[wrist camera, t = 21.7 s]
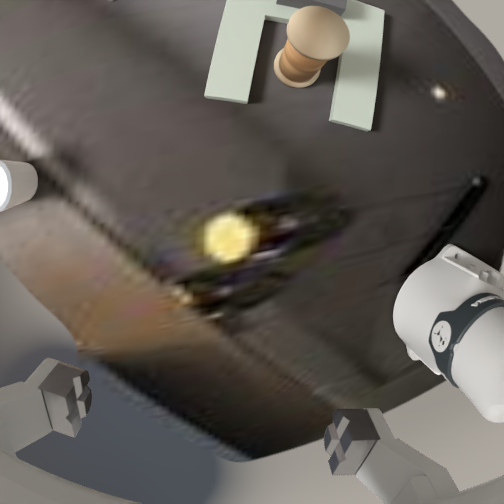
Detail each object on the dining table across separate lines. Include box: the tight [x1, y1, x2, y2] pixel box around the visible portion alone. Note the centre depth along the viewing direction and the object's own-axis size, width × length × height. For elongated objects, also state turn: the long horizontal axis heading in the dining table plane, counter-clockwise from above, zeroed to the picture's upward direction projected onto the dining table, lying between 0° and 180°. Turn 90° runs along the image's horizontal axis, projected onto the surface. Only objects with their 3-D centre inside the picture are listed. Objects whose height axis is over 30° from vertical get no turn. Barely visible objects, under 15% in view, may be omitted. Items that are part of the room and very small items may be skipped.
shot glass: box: [0, 160, 38, 212], centre depth 33 cm, size 7×7×7 cm
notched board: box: [204, 0, 384, 131], centre depth 31 cm, size 20×18×4 cm
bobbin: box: [274, 6, 350, 88], centre depth 29 cm, size 6×6×12 cm
